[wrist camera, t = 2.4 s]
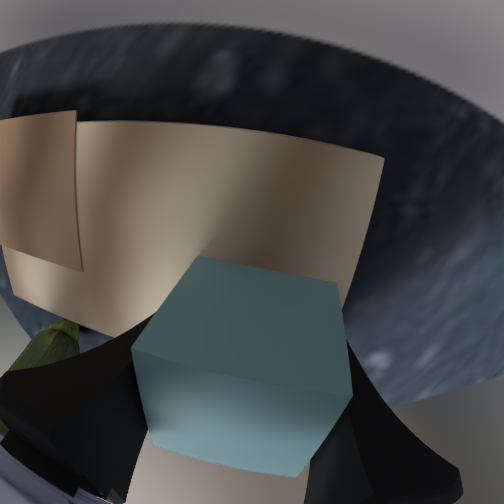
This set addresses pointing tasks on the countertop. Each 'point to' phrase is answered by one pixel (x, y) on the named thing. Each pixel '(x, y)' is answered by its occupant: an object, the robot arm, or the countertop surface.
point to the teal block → (244, 367)
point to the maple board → (169, 210)
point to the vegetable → (48, 349)
